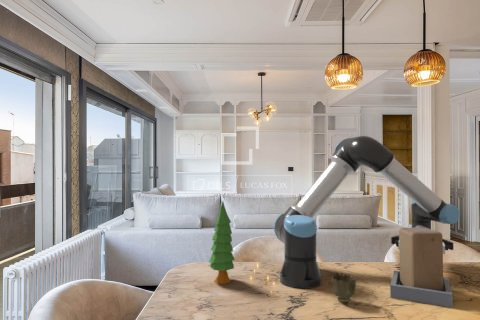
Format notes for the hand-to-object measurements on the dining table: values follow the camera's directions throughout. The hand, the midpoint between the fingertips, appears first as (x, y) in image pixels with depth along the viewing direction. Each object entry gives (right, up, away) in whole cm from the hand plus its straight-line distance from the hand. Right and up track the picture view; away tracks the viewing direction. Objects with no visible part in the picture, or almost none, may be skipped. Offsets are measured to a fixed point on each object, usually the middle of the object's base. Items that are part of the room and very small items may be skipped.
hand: (421, 247), depth 118 cm
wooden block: (-3, -13, -6) cm, 14 cm away
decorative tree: (-70, -14, +7) cm, 72 cm away
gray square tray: (-3, -14, -6) cm, 15 cm away
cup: (-31, -14, -13) cm, 36 cm away
